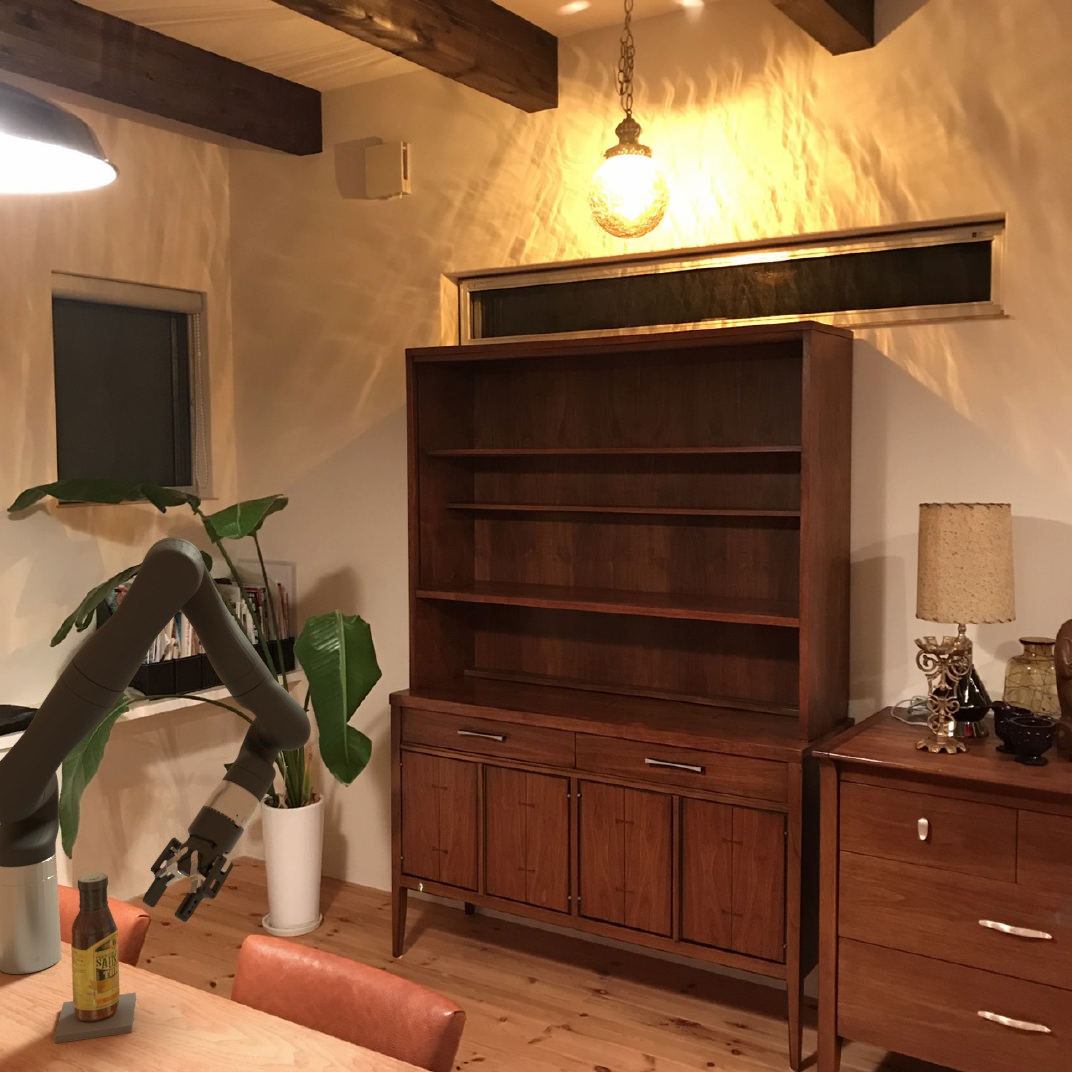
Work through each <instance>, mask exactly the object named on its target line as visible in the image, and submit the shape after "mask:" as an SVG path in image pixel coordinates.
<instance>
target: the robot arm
mask: <svg viewBox="0 0 1072 1072" xmlns="http://www.w3.org/2000/svg"><path fill="white" fill-rule="evenodd" d="M213 581H214V580H213V579H212V577H211V575H210V572H209V570H208V568H207V566H206V563H205V561H204V558H203V555H202V553H201V552H200V550H199V548H197V546H196V545H195V544H193V543H192V542H191V541H189V540H187V539H184V538H182V537H177V536H170V537H164V538H162V539H159V540H158V541H156V542H155V543H154V544H152V545H151V547H150V548H149V549H148V551H147V552H146V554H145V556H144V558H143V559H142V562H141V564H140V566H139V569H138V572H137V574H136V575H135V577H134V580H133V581H132V583H131V585H130V586H129V588H128V590H127V592H126V594H125V595H124V597H123V598H122V600H121V602H120V603H119V605H118V607H117V608H116V609H115V611H114V613H112V615H111V616H110V617H109V618H108V619H107V620H106V621H105V622H104V623H103V624H102V625H101V626H100V627H98V629H97V630H95V632H94V633H93V634H92V635H91V636H90V637H89V638H88V639H87V640H86V641H85V643H83V645H82V646H81V647H80V648H79V650H78V651H77V652H76V653H75V654H74V656H73V658H71V660H70V661H69V662H68V664H67V666H66V667H65V669H63V671H62V673H61V674H60V675H59V677H58V679H57V680H56V681H55V683H54V684H53V686H52V688H51V689H50V691H49V693H48V694H47V695H46V697H45V699H44V700H43V701H42V703H41V705H40V706H39V708H38V710H37V711H36V713H35V715H34V717H33V718H32V719H31V722H30V723H29V724H28V727H27V728H26V729H25V730H24V732H23V733H22V735H21V736H20V737H19V738H18V740H17V741H16V742H15V743H14V744H13V746H11V748H10V749H9V750H8V752H7V753H5V755H4V756H3V757H2V758H1V759H0V971H1V972H3V973H5V974H12V975H22V974H23V975H24V974H31V973H35V972H39V971H43V970H44V969H47V968H49V967H52V966H53V965H55V964H56V963H58V962H59V961H60V960H61V958H62V942H61V940H62V939H61V922H60V921H61V920H60V902H59V901H60V899H59V884H58V883H59V881H58V870H57V869H58V866H57V850H56V849H57V847H56V845H57V839H58V838H57V837H58V833H59V831H60V800H59V799H60V789H59V779H58V774H57V771H58V769H59V768H60V767H61V765H62V764H63V762H64V761H65V759H66V758H67V756H68V755H69V754H70V753H71V752H73V750H74V749H75V748H76V747H77V746H78V745H79V744H80V743H81V742H83V740H84V739H85V738H86V737H87V736H88V735H90V733H91V732H92V731H93V730H94V729H95V728H96V727H97V726H98V724H100V723H101V722H102V720H104V718H105V717H106V716H107V714H108V713H109V712H110V711H111V709H112V708H113V707H114V706H115V705H116V703H117V702H118V700H119V699H120V698H121V696H122V695H123V693H124V692H125V691H126V689H127V687H128V686H129V685H130V683H131V682H132V680H133V679H134V677H135V676H136V673H138V671H139V670H140V667H141V666H142V664H143V662H144V661H145V658H146V657H147V655H148V652H149V651H150V649H151V647H152V645H153V644H154V642H155V640H156V639H157V638H158V637H159V635H160V634H161V633H162V631H164V629H165V627H166V626H167V625H168V624H169V623H170V622H171V620H172V619H173V618H174V617H175V616H176V615H177V613H179V612H180V611H181V613H182V614H183V615H184V617H185V618H186V620H187V621H188V623H189V624H190V625H191V628H192V629H193V631H194V632H195V634H196V637H197V638H198V639H199V642H200V643H201V646H202V648H203V650H204V652H205V654H206V658H207V659H208V660H209V663H210V664H211V666H212V668H213V670H214V671H215V673H216V675H217V676H218V678H219V679H220V681H221V683H222V685H224V686H225V688H226V689H227V691H228V692H229V694H230V696H231V697H232V699H233V700H234V701H235V702H236V703H237V704H238V705H239V706H240V707H241V708H242V709H246V710H247V711H249V712H251V713H252V714H253V715H254V716H255V718H254V719H253V720H252V721H251V724H250V725H249V727H248V729H247V731H246V734H245V737H244V738H243V741H242V744H240V745H241V746H240V748H239V750H238V751H239V752H238V754H237V757H236V758H235V760H234V761H233V762H232V764H231V766H230V767H229V769H228V770H227V772H226V774H225V775H224V776H223V778H222V779H221V780H220V782H219V784H217V786H216V787H215V788H214V789H213V791H212V792H211V793H210V795H209V796H208V798H207V799H206V801H205V802H204V804H203V805H202V806H201V808H200V810H199V811H198V813H197V814H196V816H195V817H194V819H193V820H192V822H191V824H189V826H188V828H187V832H188V834H189V837H188V839H187V840H186V841H184V842H182V841H181V840H179V839H178V838H176V837H172V838H171V839H170V840H169V841H168V843H167V845H166V846H165V847H164V849H163V850H162V852H161V853H160V855H158V857H157V859H156V860H155V861H154V863H152V866H151V867H150V872H152V874H153V875H154V880H153V881H152V883H151V884H150V886H149V887H148V889H147V890H146V892H145V893H144V896H143V898H142V903H143V904H145V905H147V906H148V907H151V908H155V907H156V905H157V904H158V902H159V900H160V899H161V898H162V896H163V895H164V894H165V892H166V890H167V889H168V885H169V884H171V883H172V882H174V881H175V880H177V879H183V878H184V877H187V878H190V881H191V884H190V889H189V890H190V892H187V893H186V895H185V896H184V898H183V900H182V901H181V903H180V904H179V906H178V908H177V909H176V911H175V912H174V917H175V918H176V919H178V920H179V921H181V922H183V923H187V922H188V921H189V919H190V918H191V917H192V916H193V914H194V913H195V911H196V910H197V908H198V906H199V904H200V903H201V902H202V901H204V900H205V899H210V900H214V899H215V898H216V897H217V896H218V893H219V892H220V890H221V889H222V887H223V885H224V883H225V881H226V880H227V878H228V877H229V875H230V873H231V871H232V870H233V868H234V865H235V864H234V862H232V861H231V859H229V858H227V857H226V856H229V855H230V854H231V853H232V852H233V850H234V848H235V846H236V845H237V843H238V841H239V840H240V838H241V837H242V835H243V834H244V832H245V830H246V829H247V827H248V826H249V824H250V822H251V821H252V819H253V817H254V816H255V815H256V812H257V809H258V807H259V805H260V804H261V802H262V800H263V799H264V797H266V794H267V793H268V791H269V790H270V788H271V786H272V785H273V783H274V780H275V779H276V775H277V771H276V769H275V767H274V764H275V761H276V759H277V757H278V756H279V753H280V752H281V751H287V752H292V751H296V750H299V749H301V748H302V747H304V746H305V745H306V744H307V743H308V741H309V739H310V737H311V732H312V729H311V727H312V726H311V721H310V719H309V717H308V714H307V713H306V711H305V709H304V708H303V707H302V706H301V704H300V703H299V702H298V701H297V700H296V699H295V698H294V696H292V694H290V693H289V692H288V691H287V689H285V688H284V687H283V686H282V685H281V684H280V683H279V682H278V681H277V680H276V679H275V678H274V676H273V674H272V673H271V671H270V669H269V668H268V667H267V665H266V663H265V662H264V661H263V658H261V656H260V655H259V653H258V652H257V650H256V649H255V647H254V646H253V645H252V643H251V642H250V641H249V639H248V637H247V636H246V635H245V634H244V632H243V631H242V629H241V628H240V626H239V624H238V623H237V621H236V620H235V618H234V617H233V616H232V613H231V612H230V611H229V609H228V607H227V606H226V604H225V602H224V600H223V598H222V596H221V595H220V593H219V591H218V589H217V588H216V585H215V584H214V582H213ZM165 861H166V862H165ZM164 862H165V865H164ZM162 865H164V866H163V867H162ZM169 873H170V874H169ZM213 882H214V884H213V886H212V887H211V885H212V883H213Z"/></svg>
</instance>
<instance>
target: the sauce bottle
mask: <svg viewBox="0 0 1072 1072" xmlns="http://www.w3.org/2000/svg"><path fill="white" fill-rule="evenodd" d="M108 886H109V877H108V875H107V874H106V873H104V872H91V873H86V874H83V875H81V876H80V877H78V878H77V889H78V891H79V892H78V894H79V895H78V896H79V903H78V904H79V905H78V906H79V907H78V908H79V911H78V914H77V915H76V916H75V919H74V921H73V923H72V925H71V946H70V947H71V973H72V975H71V977H72V981H71V982H72V1001H73V1006H74V1007H75V1009H74V1010H75V1016H76V1018H78V1019H79V1020H82V1021H96V1020H101V1019H104V1018H107V1017H109V1016H111V1015H113V1014H114V1013H115V1012H116V1011H117V1009H118V1005H119V998H120V995H121V992H120V989H121V988H120V970H119V969H120V964H119V963H120V961H119V935H118V934H119V933H118V932H119V930H118V927H117V924H116V922H115V919H114V917H113V915H112V912H111V909H110V906H109V900H108Z"/></svg>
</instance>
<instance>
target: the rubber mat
mask: <svg viewBox="0 0 1072 1072" xmlns="http://www.w3.org/2000/svg"><path fill="white" fill-rule="evenodd" d="M136 993H137V992H130V993H122V994H121V993H120V998H119V1005H118V1009H117V1011H116V1012H115V1013H114V1014H113V1015H111V1016H109V1017H107V1018H104V1019H101V1020H96V1021H82V1020H79V1019H78V1018H76V1016H75V1010H74V1009H75V1007H74V1006H73V1000H70V1001H64V1002H62V1007H61V1010H60V1015H59V1018H58V1022H57V1024H56V1025H57V1027H56V1030H55V1033H54V1044H59V1043H66V1042H72V1041H73V1042H74V1041H80V1040H81V1041H82V1040H86V1039H87V1040H89V1039H94V1038H95V1039H96V1038H101V1037H108V1036H114V1035H121V1034H129V1033H133V1024H134V1017H135V1009H136V1003H137V994H136Z"/></svg>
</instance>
